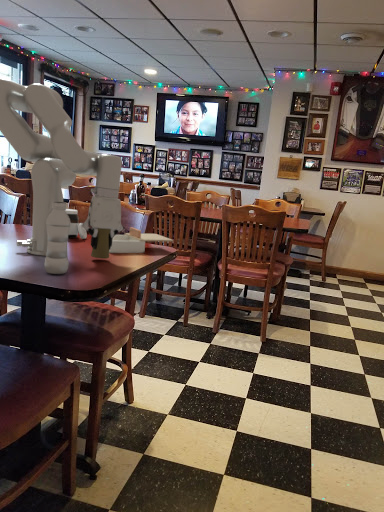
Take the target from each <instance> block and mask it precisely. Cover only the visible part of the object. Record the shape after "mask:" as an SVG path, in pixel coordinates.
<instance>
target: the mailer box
mask: <svg viewBox="0 0 384 512" xmlns="http://www.w3.org/2000/svg"><path fill="white" fill-rule="evenodd" d="M145 248H146V241H139V240H137V239H134V238H132V237H130V236H127V235H125V234H116V235H115V236H114V238H113V239H112V246H111V248H110V250H109V254H137V253H138V254H139V253H141V254H144V253H145Z"/></svg>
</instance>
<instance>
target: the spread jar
mask: <svg viewBox="0 0 384 512" xmlns="http://www.w3.org/2000/svg"><path fill="white" fill-rule="evenodd" d="M65 212H66V213H67V215H68V216H69V218H70V222H71V223H70V229H69V234H68V239H76V238H78V235H79V238H80V239H82V240H84V239H87V236H88V235H87V234H88V233H87V230H86V229H84V228H83V227H82V225H83V223H84V222H80V223H79V221H80V220H79V216H78V215H79V214H78V212H79V211H78V210H77V209H72V208H66V210H65Z"/></svg>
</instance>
